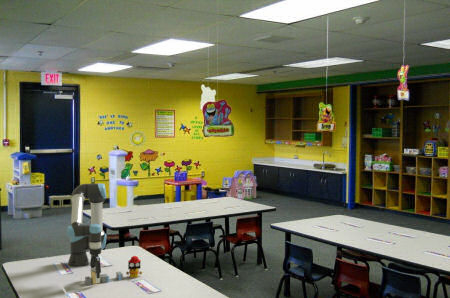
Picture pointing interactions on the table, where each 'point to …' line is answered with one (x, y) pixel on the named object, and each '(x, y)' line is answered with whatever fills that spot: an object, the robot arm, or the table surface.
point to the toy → (134, 267)
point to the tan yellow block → (93, 276)
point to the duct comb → (105, 278)
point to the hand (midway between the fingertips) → (95, 279)
